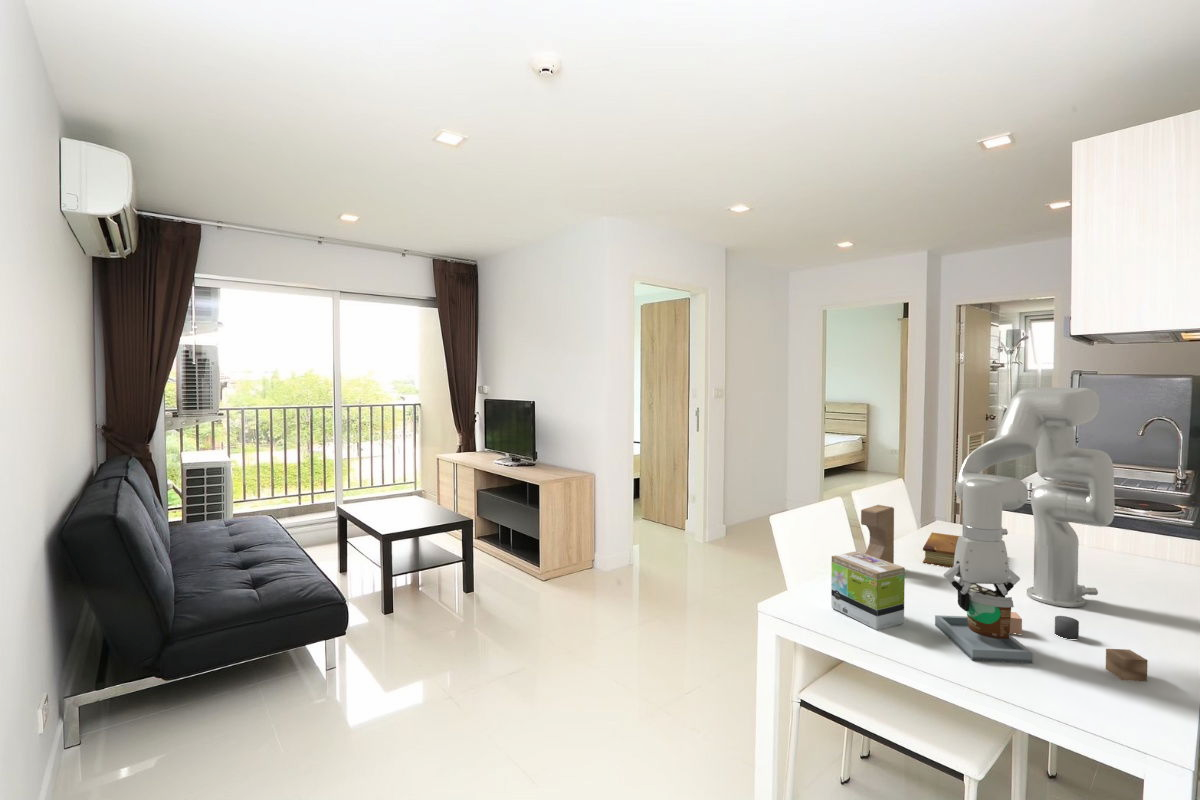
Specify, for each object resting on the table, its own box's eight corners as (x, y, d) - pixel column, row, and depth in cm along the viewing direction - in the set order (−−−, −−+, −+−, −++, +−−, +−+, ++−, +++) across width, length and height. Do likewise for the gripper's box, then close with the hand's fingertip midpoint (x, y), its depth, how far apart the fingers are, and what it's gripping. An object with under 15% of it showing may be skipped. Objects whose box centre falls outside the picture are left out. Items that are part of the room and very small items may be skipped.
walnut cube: (1129, 670, 119) (1129, 649, 119) (1147, 681, 115) (1147, 660, 115) (1105, 669, 120) (1106, 648, 120) (1122, 680, 116) (1123, 659, 115)
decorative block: (877, 576, 177) (877, 512, 176) (859, 571, 182) (859, 509, 181) (894, 568, 184) (895, 507, 183) (877, 564, 188) (877, 504, 187)
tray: (986, 627, 140) (987, 617, 140) (1032, 663, 123) (1032, 652, 122) (935, 625, 142) (935, 615, 142) (972, 660, 124) (972, 649, 124)
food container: (949, 620, 138) (948, 580, 138) (973, 618, 139) (972, 578, 138) (988, 644, 126) (987, 600, 126) (1014, 642, 127) (1013, 598, 126)
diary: (991, 576, 178) (991, 558, 177) (922, 565, 189) (922, 547, 189) (994, 556, 196) (994, 540, 196) (931, 547, 207) (931, 531, 207)
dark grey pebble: (1070, 632, 137) (1070, 616, 137) (1083, 640, 133) (1083, 623, 133) (1050, 631, 138) (1050, 615, 138) (1062, 639, 133) (1062, 623, 133)
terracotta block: (1016, 628, 140) (1016, 612, 140) (1021, 635, 136) (1022, 619, 136) (992, 625, 142) (992, 609, 142) (997, 632, 138) (997, 616, 138)
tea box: (829, 608, 153) (829, 554, 152) (857, 602, 157) (857, 549, 156) (876, 631, 139) (877, 571, 138) (905, 624, 143) (906, 565, 142)
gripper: (1013, 529, 134) (1012, 604, 135) (934, 528, 136) (933, 601, 137) (1032, 538, 126) (1031, 617, 127) (949, 537, 129) (948, 614, 129)
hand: (980, 608), depth 132 cm, fingers closed on food container, 6 cm apart
